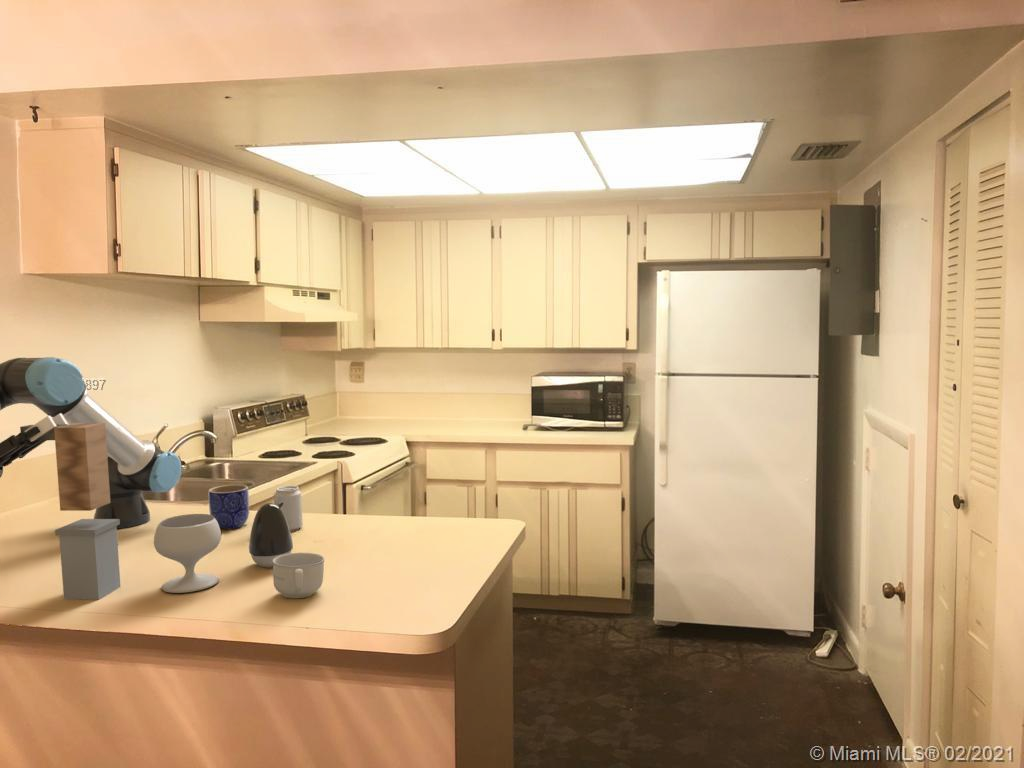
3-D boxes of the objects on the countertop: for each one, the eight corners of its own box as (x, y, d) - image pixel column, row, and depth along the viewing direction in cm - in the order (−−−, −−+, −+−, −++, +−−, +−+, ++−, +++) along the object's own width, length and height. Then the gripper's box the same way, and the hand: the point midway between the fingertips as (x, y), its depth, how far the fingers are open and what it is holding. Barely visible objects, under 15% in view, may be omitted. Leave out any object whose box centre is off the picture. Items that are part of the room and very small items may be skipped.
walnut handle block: (19, 510, 169) (13, 428, 167) (42, 502, 176) (36, 423, 174) (90, 510, 167) (85, 427, 166) (110, 502, 174) (105, 423, 173)
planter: (258, 524, 228) (256, 486, 227) (226, 533, 219) (224, 494, 218) (233, 519, 234) (231, 483, 233) (202, 528, 225) (200, 490, 224)
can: (295, 533, 218) (293, 490, 217) (270, 532, 220) (268, 490, 219) (307, 525, 225) (305, 485, 224) (283, 525, 227) (281, 484, 226)
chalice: (196, 571, 186) (193, 509, 185) (236, 580, 179) (233, 516, 178) (143, 589, 174) (139, 524, 173) (184, 600, 167) (179, 531, 166)
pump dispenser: (302, 559, 194) (299, 499, 193) (276, 572, 184) (273, 509, 183) (267, 556, 197) (264, 497, 196) (241, 568, 188) (237, 506, 186)
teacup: (280, 586, 175) (278, 551, 174) (329, 584, 176) (327, 549, 175) (265, 609, 161) (263, 571, 160) (319, 607, 162) (317, 569, 161)
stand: (60, 599, 169) (55, 529, 168) (86, 585, 178) (81, 518, 176) (99, 600, 168) (94, 530, 167) (123, 586, 177) (119, 519, 176)
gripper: (10, 479, 181) (90, 429, 178) (-45, 496, 165) (41, 440, 162) (-7, 452, 181) (72, 401, 178) (-64, 465, 165) (22, 409, 162)
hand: (57, 420), depth 170 cm, fingers closed on walnut handle block, 3 cm apart
